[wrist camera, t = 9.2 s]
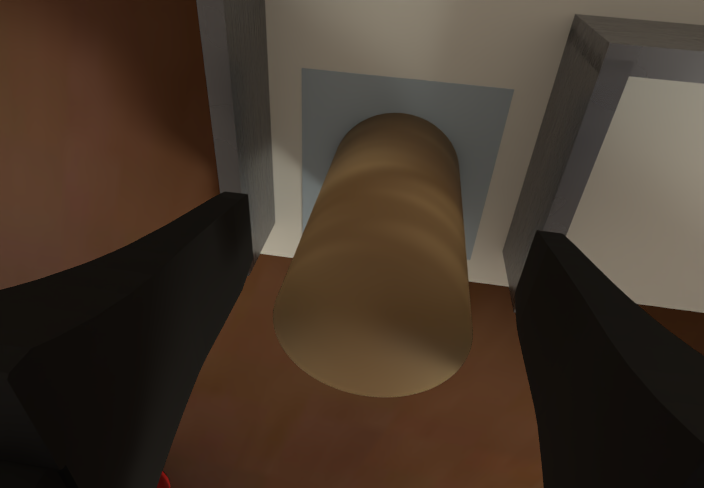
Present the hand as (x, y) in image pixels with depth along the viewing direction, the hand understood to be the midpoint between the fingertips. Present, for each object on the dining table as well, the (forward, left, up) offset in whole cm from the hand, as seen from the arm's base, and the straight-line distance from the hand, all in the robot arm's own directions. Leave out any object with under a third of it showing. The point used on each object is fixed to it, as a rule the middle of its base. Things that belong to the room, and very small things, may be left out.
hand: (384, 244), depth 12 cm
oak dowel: (0, 0, -4) cm, 4 cm away
